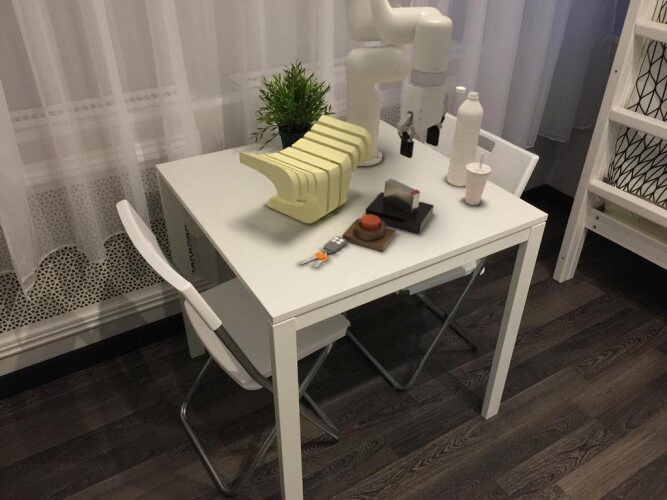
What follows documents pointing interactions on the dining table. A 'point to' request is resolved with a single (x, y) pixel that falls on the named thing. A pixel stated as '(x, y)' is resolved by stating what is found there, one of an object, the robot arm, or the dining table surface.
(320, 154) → the slatted curved stool
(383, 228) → the button block
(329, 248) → the key chain
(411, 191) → the silver metal block
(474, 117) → the water bottle
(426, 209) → the plate
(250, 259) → the dining table surface
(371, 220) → the button
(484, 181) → the smoothie
